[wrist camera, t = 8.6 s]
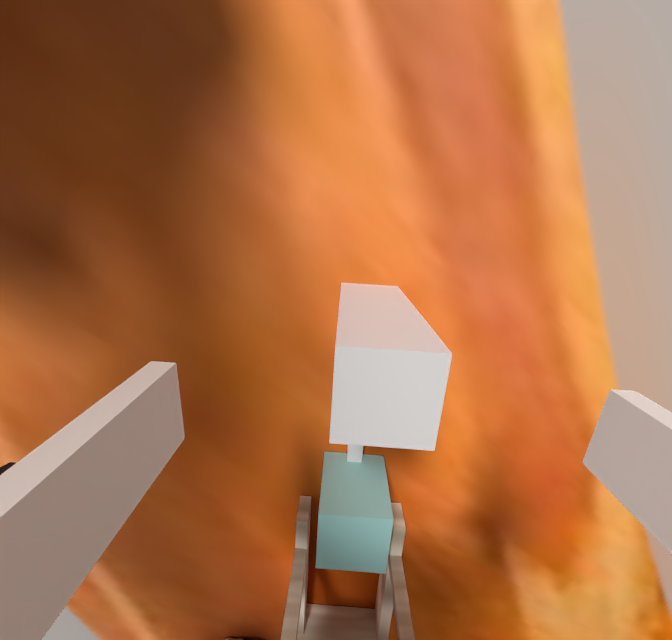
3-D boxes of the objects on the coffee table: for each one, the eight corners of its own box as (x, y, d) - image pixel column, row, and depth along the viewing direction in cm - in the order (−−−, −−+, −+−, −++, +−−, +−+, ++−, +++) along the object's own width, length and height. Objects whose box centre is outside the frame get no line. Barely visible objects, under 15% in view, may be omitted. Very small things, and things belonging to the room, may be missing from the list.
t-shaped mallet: (334, 282, 22) (320, 345, 11) (404, 286, 22) (466, 354, 11) (321, 497, 28) (304, 687, 17) (377, 501, 28) (399, 695, 16)
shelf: (300, 495, 28) (272, 659, 17) (400, 503, 28) (433, 672, 17) (296, 609, 32) (272, 794, 22) (383, 616, 32) (401, 805, 22)
